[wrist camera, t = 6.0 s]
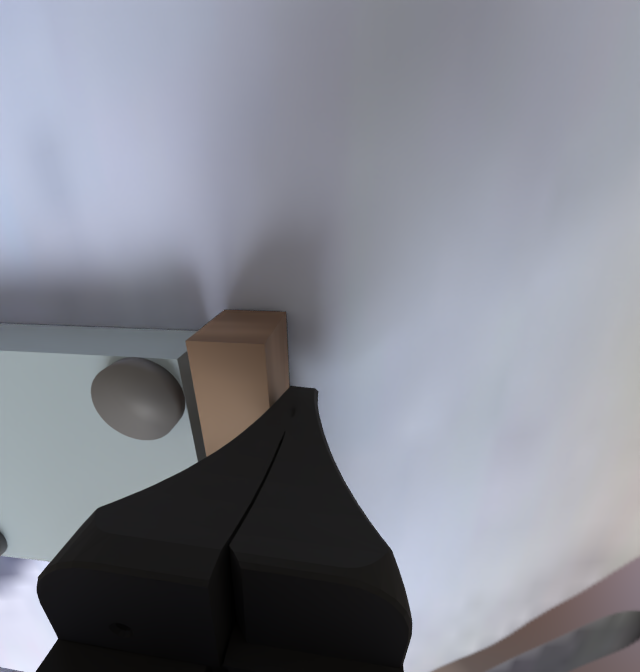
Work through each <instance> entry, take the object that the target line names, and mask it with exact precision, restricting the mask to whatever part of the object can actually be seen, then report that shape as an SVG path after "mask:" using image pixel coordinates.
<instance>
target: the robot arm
mask: <svg viewBox="0 0 640 672" xmlns="http://www.w3.org/2000/svg"><path fill="white" fill-rule="evenodd" d="M37 595H38V598H39V601H40V604H41V606H42V608H43V609H44V611H45V613H46V615H47V617H48V619H49V621H50V623H51V625H52V627H53V629H54V631H55V633H56V635H57V637H58V640H57V641H56V643H55V644H54V646H53V647H52V649H51V650H50V652H49V653H48V655H47V656H46V657H45V659H44V660H43V662H42V663H41V665H40V666H39V668H38V669H37V671H36V672H404V670H403V662H404V659H405V656H406V653H407V649H408V646H409V643H410V639H411V636H412V618H411V612H410V607H409V603H408V599H407V595H406V591H405V587H404V584H403V581H402V578H401V575H400V572H399V569H398V566H397V563H396V560H395V557H394V555H393V552H392V550H391V549H390V547H389V546H388V545H387V543H386V542H385V541H384V540H383V538H382V537H381V536H380V535H379V533H378V532H377V530H376V529H375V528H374V526H373V525H372V524H371V522H370V521H369V519H368V518H367V517H366V515H365V514H364V512H363V511H362V509H361V508H360V506H359V505H358V503H357V501H356V500H355V498H354V496H353V495H352V493H351V491H350V490H349V488H348V486H347V485H346V483H345V481H344V479H343V477H342V475H341V473H340V471H339V469H338V467H337V465H336V463H335V461H334V459H333V456H332V454H331V451H330V449H329V446H328V444H327V441H326V438H325V435H324V432H323V428H322V424H321V420H320V416H319V411H318V391H317V390H316V389H315V388H305V387H295V386H291V387H289V388H288V389H287V390H286V391H285V392H284V393H283V395H282V396H281V397H280V398H279V399H278V400H277V401H276V402H275V403H274V404H273V405H272V406H271V407H270V408H269V409H268V410H267V411H266V412H265V413H264V414H263V415H262V416H260V417H259V418H258V419H257V420H256V421H255V422H254V423H253V424H251V425H250V426H249V427H248V428H247V429H245V430H244V431H243V432H242V433H241V434H239V435H238V436H237V437H235V438H234V439H233V440H231V441H230V442H229V443H227V444H226V445H224V446H223V447H222V448H220V449H219V450H217V451H216V452H214V453H212V454H211V455H209V456H207V457H206V458H204V459H202V460H201V461H199V462H197V463H195V464H194V465H192V466H190V467H189V468H187V469H185V470H183V471H181V472H179V473H177V474H175V475H173V476H171V477H169V478H167V479H165V480H163V481H161V482H159V483H157V484H155V485H153V486H150V487H148V488H146V489H144V490H141V491H139V492H136V493H134V494H131V495H129V496H126V497H124V498H122V499H119V500H117V501H114V502H112V503H109V504H107V505H104V506H101V507H99V508H97V509H96V510H95V511H94V512H93V513H92V514H91V516H90V517H89V518H88V519H87V520H86V521H85V522H84V523H83V524H82V525H81V526H80V528H79V529H78V530H77V531H76V532H75V533H74V535H73V536H72V537H71V538H70V539H69V541H68V542H67V543H66V544H65V545H64V547H63V548H62V549H61V550H60V551H59V552H58V554H57V555H56V556H55V557H54V558H53V560H52V561H51V562H50V563H49V564H48V566H47V567H46V568H45V569H44V570H43V572H42V573H41V574H40V575H39V577H38V582H37ZM0 672H22V671H17V670H12V669H7V668H1V667H0Z"/></svg>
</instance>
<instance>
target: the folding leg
mask: <svg viewBox="0 0 640 672" xmlns="http://www.w3.org/2000/svg"><path fill="white" fill-rule="evenodd" d="M185 342H186V347H187V353H188V358H189V364H190V369H191V375H192V380H193V386H194V391H195V397H196V402H197V407H198V413H199V418H200V424H201V429H202V435H203V440H204V446H205V451H206V457H207V456H209V455H211V454H212V453H214V452H216V451H217V450H219V449H220V448H222V447H223V446H224V445H226V444H227V443H229V442H230V441H231V440H233V439H234V438H235V437H237V436H238V435H239V434H241V433H242V432H243V431H244V430H245V429H247V428H248V427H249V426H250V425H251V424H253V423H254V422H255V421H256V420H257V419H258V418H259V417H260V416H262V415H263V414H264V413H265V412H266V411H267V410H268V409H269V408H270V407H271V406H272V405H273V404H274V403H275V402H276V401H277V400H278V399H279V398H280V397H281V396H282V395H283V393H284V392H285V391H286V390H287V389H288V388H289V365H288V343H287V321H286V312H279V311H249V310H224V311H222V312H221V313H220V314H219V315H217V316H216V317H215V318H213V319H212V320H211V321H210V322H208V323H207V324H206V325H205V326H203V327H202V328H201V329H200V330H198V331H197V332H196V333H195V334H193V335H192V336H191V337H190V338H188V339H187V340H186V341H185Z"/></svg>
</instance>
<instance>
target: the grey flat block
mask: <svg viewBox="0 0 640 672" xmlns="http://www.w3.org/2000/svg"><path fill="white" fill-rule="evenodd" d="M196 332H197V331H191V330H165V329H139V328H113V327H86V326H60V325H34V324H8V323H0V556H7V557H15V558H24V559H32V560H40V561H48V562H51V561H52V560H53V558H54V557H55V556H56V555H57V554H58V552H59V551H60V550H61V549H62V548H63V547H64V545H65V544H66V543H67V542H68V541H69V539H70V538H71V537H72V536H73V535H74V533H75V532H76V531H77V530H78V529H79V528H80V526H81V525H82V524H83V523H84V522H85V521H86V520H87V519H88V518H89V517H90V516H91V514H92V513H93V512H94V511H95V510H96V509H97V508H99V507H101V506H104V505H107V504H109V503H112V502H114V501H117V500H119V499H122V498H124V497H126V496H129V495H131V494H134V493H136V492H139V491H141V490H144V489H146V488H148V487H150V486H153V485H155V484H157V483H159V482H161V481H163V480H165V479H167V478H169V477H171V476H173V475H175V474H177V473H179V472H181V471H183V470H185V469H187V468H189V467H190V466H192V465H194V464H195V463H197V462H199V461H201V460H202V459H204V458H206V451H205V446H204V440H203V435H202V429H201V424H200V418H199V413H198V407H197V402H196V397H195V391H194V386H193V380H192V375H191V369H190V364H189V358H188V353H187V347H186V342H185V341H186V340H187V339H188V338H190V337H191V336H192V335H193V334H195V333H196Z"/></svg>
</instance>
